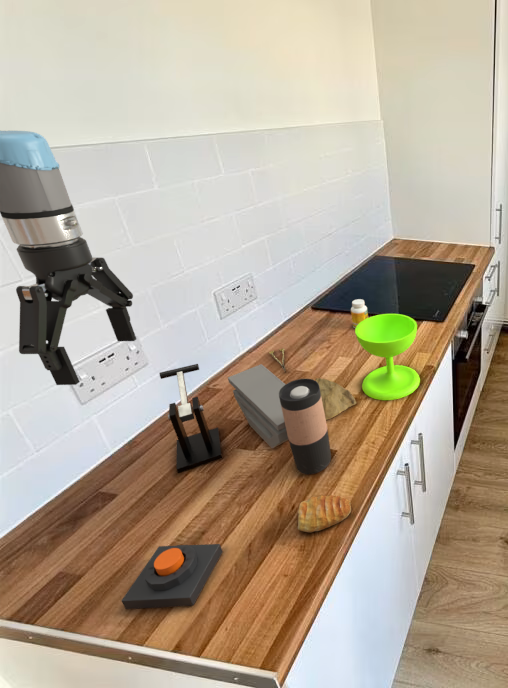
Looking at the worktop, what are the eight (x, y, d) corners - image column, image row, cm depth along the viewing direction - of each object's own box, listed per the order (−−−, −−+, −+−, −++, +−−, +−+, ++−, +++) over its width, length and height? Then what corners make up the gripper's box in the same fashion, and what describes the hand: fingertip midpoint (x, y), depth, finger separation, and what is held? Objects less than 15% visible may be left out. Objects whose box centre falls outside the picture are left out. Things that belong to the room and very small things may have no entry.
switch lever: (161, 376, 96) (158, 370, 95) (199, 367, 100) (196, 361, 98) (168, 426, 90) (164, 421, 89) (207, 415, 94) (205, 409, 92)
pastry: (351, 496, 88) (348, 483, 86) (351, 525, 82) (349, 511, 81) (300, 508, 85) (297, 494, 83) (297, 538, 79) (294, 524, 78)
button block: (125, 609, 67) (116, 594, 66) (162, 554, 75) (155, 539, 74) (193, 605, 68) (186, 590, 67) (222, 551, 76) (217, 537, 75)
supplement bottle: (353, 323, 152) (350, 298, 148) (369, 322, 154) (366, 297, 149) (352, 330, 148) (349, 305, 143) (368, 329, 149) (365, 304, 145)
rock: (358, 386, 117) (318, 385, 114) (357, 376, 109) (315, 375, 107) (354, 426, 112) (312, 427, 109) (353, 419, 105) (308, 419, 102)
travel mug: (289, 461, 95) (271, 388, 86) (322, 444, 100) (309, 373, 92) (304, 481, 91) (287, 406, 82) (338, 462, 96) (326, 389, 87)
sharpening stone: (237, 413, 108) (227, 377, 104) (269, 398, 114) (261, 364, 109) (286, 463, 95) (277, 425, 90) (320, 444, 100) (313, 407, 96)
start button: (151, 576, 69) (148, 569, 68) (166, 555, 72) (163, 548, 71) (175, 575, 69) (172, 568, 68) (189, 554, 72) (186, 547, 71)
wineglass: (401, 360, 133) (397, 308, 125) (431, 384, 123) (429, 329, 115) (351, 380, 123) (344, 325, 115) (380, 408, 113) (374, 350, 105)
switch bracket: (177, 443, 98) (160, 399, 93) (219, 431, 102) (205, 387, 97) (178, 473, 91) (159, 426, 85) (222, 458, 95) (207, 412, 90)
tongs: (280, 374, 124) (279, 368, 123) (269, 355, 133) (267, 350, 132) (296, 369, 126) (295, 363, 125) (283, 351, 135) (282, 345, 134)
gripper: (1, 270, 54) (65, 405, 63) (133, 220, 77) (167, 325, 86) (-68, 270, 53) (7, 407, 62) (86, 219, 76) (125, 326, 85)
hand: (100, 360), depth 74 cm, fingers open, 13 cm apart
